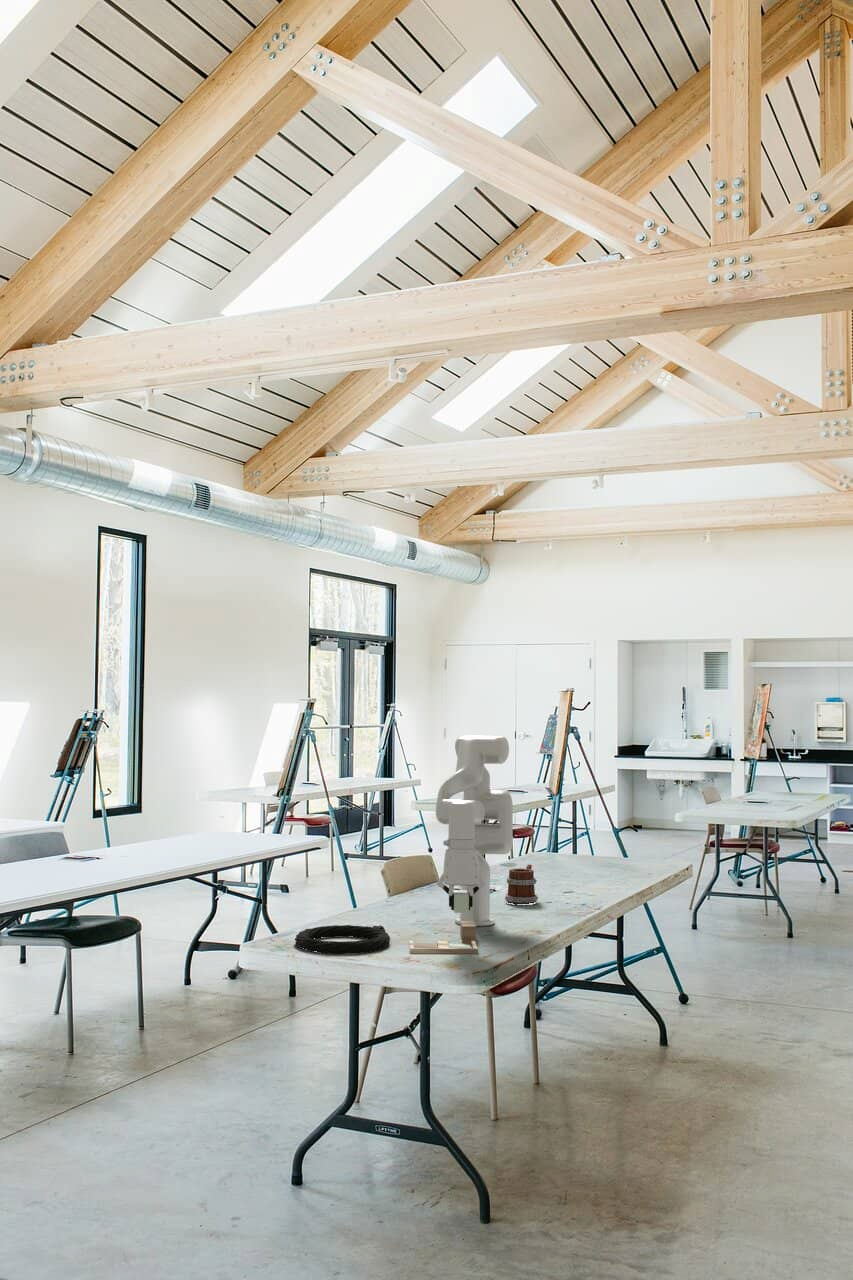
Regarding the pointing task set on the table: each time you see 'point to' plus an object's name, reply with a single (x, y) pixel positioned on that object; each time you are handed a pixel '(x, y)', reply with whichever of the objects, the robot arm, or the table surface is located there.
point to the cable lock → (374, 933)
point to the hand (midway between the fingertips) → (460, 908)
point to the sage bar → (461, 901)
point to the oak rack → (442, 947)
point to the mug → (521, 886)
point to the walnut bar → (467, 931)
